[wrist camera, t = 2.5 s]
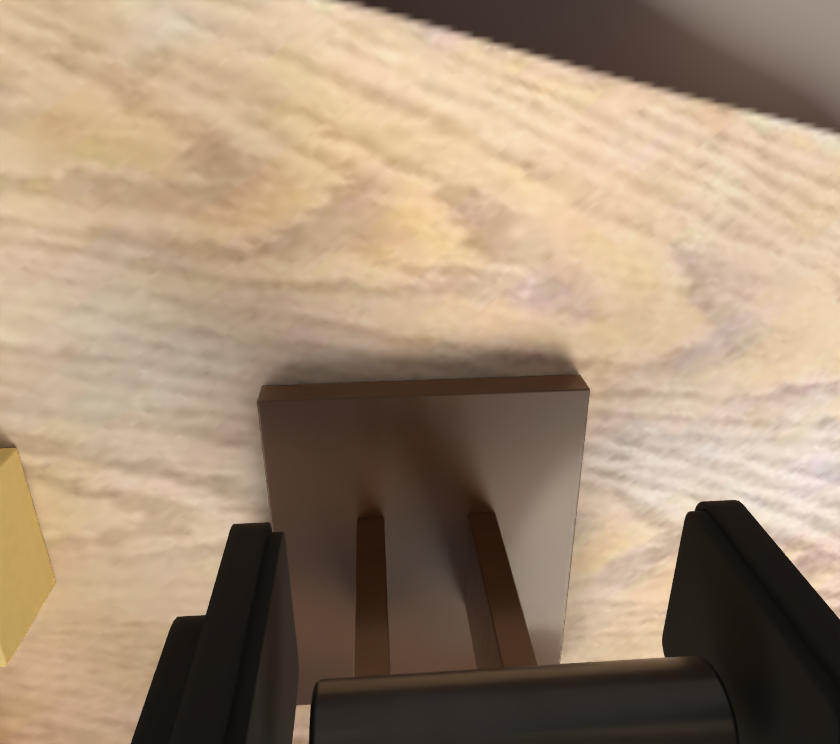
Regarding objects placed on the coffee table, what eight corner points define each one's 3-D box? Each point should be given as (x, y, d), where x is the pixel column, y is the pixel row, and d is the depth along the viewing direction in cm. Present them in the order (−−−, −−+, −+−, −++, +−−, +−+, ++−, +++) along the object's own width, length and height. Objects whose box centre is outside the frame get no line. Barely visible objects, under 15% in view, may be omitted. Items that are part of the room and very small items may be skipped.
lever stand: (261, 385, 23) (173, 665, 13) (580, 373, 24) (753, 630, 13) (295, 681, 29) (254, 1044, 18) (550, 665, 30) (653, 1006, 19)
